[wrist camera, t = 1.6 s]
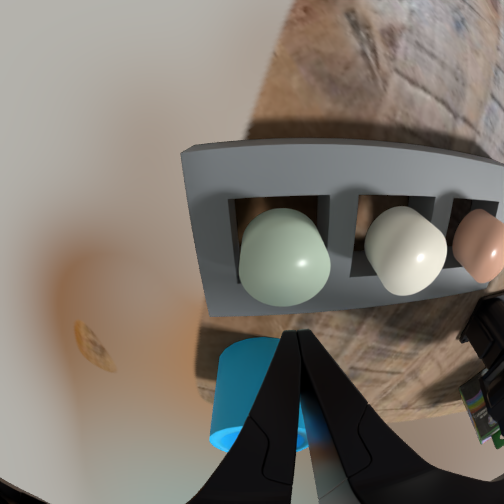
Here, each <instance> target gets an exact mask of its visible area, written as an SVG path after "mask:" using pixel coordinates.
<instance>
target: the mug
mask: <svg viewBox="0 0 504 504" xmlns="http://www.w3.org/2000/svg"><path fill="white" fill-rule="evenodd" d="M279 341H280V339H278V338H269V337H258V338H248V339H245V340H242V341H239V342H235V343H234V344H232V345H231V346H229V347H227V348H226V349H225V350H224V351H223V353H222V354H221V356H220V358H219V366H218V373H217V381H216V389H215V397H214V405H213V413H212V421H211V430H210V443H211V444H212V445H213V446H214V447H216V448H218V449H220V450H222V451H225V452H228V451H229V450H230V448H231V447H232V445H233V443H234V442H235V440H236V438H237V436H238V434H239V433H240V431H241V429H242V427H243V425H244V422H245V420H246V418H247V416H249V415H248V414H249V412H250V410H251V407H252V405H253V403H254V401H255V398H256V396H257V394H258V392H259V389H260V387H261V385H262V382H263V380H264V377H265V375H266V373H267V370H268V368H269V365H270V363H271V361H272V358H273V356H274V353H275V351H276V348H277V346H278V343H279ZM307 447H309V445H308V440H307V435H306V429H305V424H304V419H303V414H302V409H301V404H300V408H299V423H298V436H297V448H296V452H298V451H301V450H303V449H305V448H307Z"/></svg>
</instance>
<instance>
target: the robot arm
mask: <svg viewBox="0 0 504 504" xmlns="http://www.w3.org/2000/svg"><path fill="white" fill-rule="evenodd" d="M459 341H460V342H461V343H465V342H468V341H469V342H470V343H471V345H472V347H473V348H474V350H475V352H476V353H477V355H478V357H479V358H480V359H482V360H483V362H484V364H485V366H486V368H487V369H488V371H487V372H486V373H485V374H484V375H483V376H481V377H480V378H479V379H478V380H479V383H480V388H481V391H482V395H483V398H484V402H485V405H486V409H487V414H488V416H491V417H492V419H493V420H494V421H495V422H497V423H498V425H499V428H500V431H501V435H502V436H504V292H503V293H499V294H495V295H491V296H487V297H483V298H481V299H480V300H479V302H478V304H477V306H476V308H475V311H474V313H473V315H472V317H471V319H470V321H469V323H468V325H467V327H466V329H465V330H464V332H463V334H462V336H461V338H460V340H459ZM300 404H301V409H302V414H303V419H304V424H305V429H306V435H307V440H308V445H309V450H310V456H311V461H312V467H313V472H314V478H315V483H316V489H317V494H318V499H319V504H504V474H502V475H501V476H499V477H497V478H495V479H494V480H492V481H490V482H489V481H482V480H478V479H474V478H470V477H466V476H462V475H459V474H455V473H452V472H448V471H445V470H442V469H439V468H437V467H435V466H433V465H431V464H429V463H428V462H426V461H425V460H424V459H423V458H421V457H420V456H419V455H418V454H417V453H416V452H415V451H414V450H413V449H412V448H410V447H409V446H408V445H407V444H406V443H405V442H404V441H403V440H402V439H401V438H400V437H399V436H398V435H397V434H396V433H395V432H394V431H393V430H392V429H391V428H390V427H389V426H388V425H387V424H386V423H385V422H384V421H383V420H382V419H381V418H380V416H379V415H378V414H377V413H376V412H375V410H374V409H373V408H372V407H371V405H370V404H368V402H367V400H366V399H365V398H364V397H363V395H362V394H361V393H360V392H359V390H358V389H357V388H356V387H355V385H354V384H353V383H352V382H351V380H350V379H349V378H348V377H347V375H346V374H345V373H344V372H343V370H342V369H341V368H340V367H339V365H338V364H337V363H336V362H335V360H334V359H333V358H332V357H331V355H330V354H329V353H328V351H327V350H326V349H325V348H324V346H323V345H322V344H321V343H320V341H319V340H318V339H317V338H316V336H315V335H314V334H313V333H312V331H311V330H310V329H300V330H297V332H296V330H285V331H283V333H282V336H281V338H280V341H279V343H278V346H277V348H276V351H275V353H274V356H273V358H272V361H271V363H270V365H269V368H268V370H267V373H266V375H265V377H264V380H263V382H262V385H261V387H260V389H259V392H258V394H257V396H256V398H255V401H254V403H253V405H252V407H251V410H250V412H249V414H248V415H249V416H247V418H246V420H245V422H244V425H243V427H242V429H241V431H240V433H239V434H238V436H237V438H236V440H235V442H234V443H233V445H232V447H231V448H230V450H229V451H228V453H227V454H226V456H225V457H224V459H223V460H222V461H221V463H220V464H219V466H218V467H217V469H216V470H215V471H214V473H213V474H212V475H211V477H210V478H209V479H208V481H207V482H206V483H205V484H204V486H203V487H202V488H201V489H200V490H199V491H198V493H197V494H196V495H195V496H194V497H193V498H192V499H191V500H190V501H188V502H187V503H186V504H291V495H292V485H293V478H294V469H295V458H296V448H297V436H298V423H299V408H300ZM367 404H368V405H367ZM0 504H50V503H48V502H46V501H44V500H42V499H40V498H38V497H37V496H34V495H32V494H30V493H28V492H26V491H24V490H22V489H20V488H18V487H16V486H14V485H12V484H11V483H9V482H7V481H5V480H4V479H2V478H0Z"/></svg>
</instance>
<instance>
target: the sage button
mask: <svg viewBox="0 0 504 504" xmlns="http://www.w3.org/2000/svg"><path fill="white" fill-rule="evenodd" d="M329 274H330V258H329V254H328V252H327V250H326V247H325V245H324V243H323V241H322V238H321V236H320V234H319V232H318V230H317V228H316V226H315V224H314V223H313V221H312V220H311V219H310V218H309V217H307V216H306V215H305V214H303V213H301V212H299V211H297V210H293V209H288V208H276V209H271V210H268V211H265V212H263V213H261V214H259V215H258V216H256V217H255V218H254V219H253V220H252V221H251V222H250V223H249V224H248V226H247V227H246V229H245V231H244V234H243V237H242V244H241V253H240V262H239V277H240V280H241V283H242V285H243V287H244V288H245V290H246V291H247V292H248V293H249V294H250V295H251V296H252V297H253V298H255V299H256V300H258V301H260V302H262V303H264V304H267V305H271V306H279V307H286V306H293V305H297V304H300V303H303V302H305V301H307V300H309V299H311V298H312V297H314V296H315V295H316V294H317V293H318V292H319V291H320V290H321V289H322V288H323V287H324V285H325V284H326V282H327V280H328V277H329Z"/></svg>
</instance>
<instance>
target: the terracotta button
mask: <svg viewBox="0 0 504 504" xmlns="http://www.w3.org/2000/svg"><path fill="white" fill-rule="evenodd" d="M452 249H453V255H454V257H455V259H456V260H457V261H458V262H459V263H460V264H461V265H462V266H463V267H464V268H465V270H466V271H467V272H468V273H469V274H470V275H471V276H472V277H473V278H474V279H475V280H476V281H477V282H478V283H486V282H489V281H490V280H492V279H493V278H495V277H496V276H497V275H498V274H499V273H500V271H501V270H502V269H503V267H504V223H502V222H501V221H499V220H498V219H497V218H495V217H494V216H492V215H491V214H489V213H488V212H487V211H485V210H483V209H475V210H473V211H471V212H470V213H468V214H467V215H466V216H465V217H464V218H463V220H462V221H461V222H460V224H459V226H458V228H457V230H456V232H455V235H454V239H453V245H452Z"/></svg>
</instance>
